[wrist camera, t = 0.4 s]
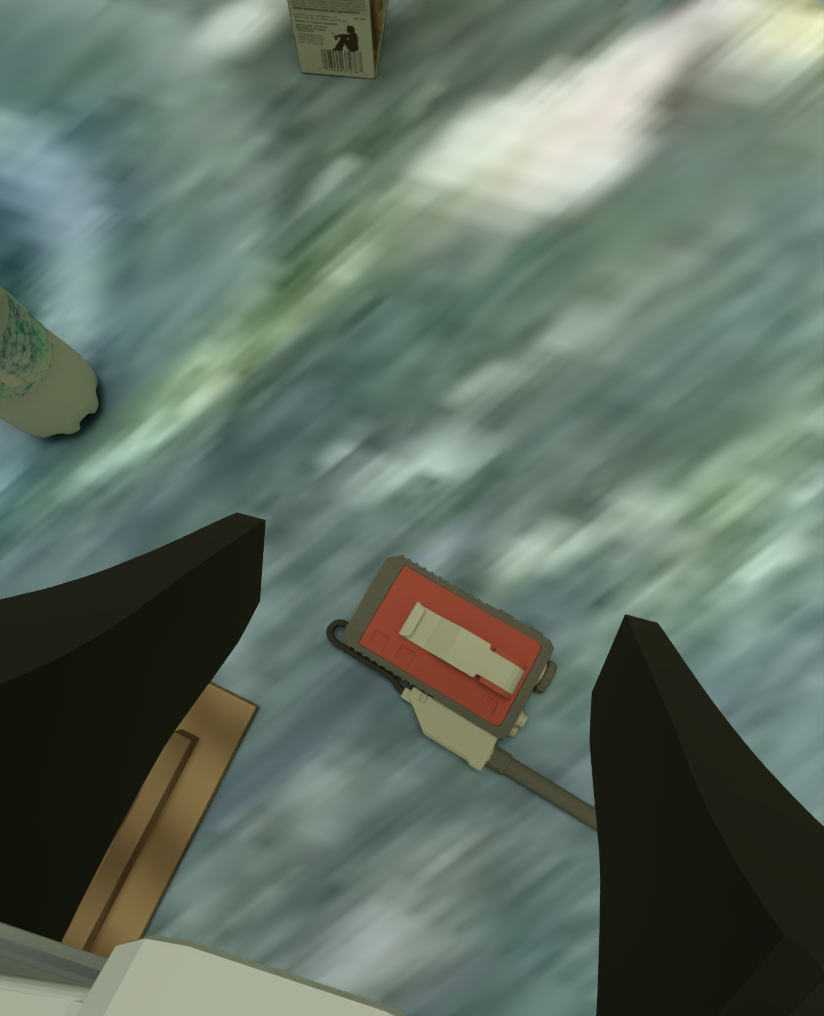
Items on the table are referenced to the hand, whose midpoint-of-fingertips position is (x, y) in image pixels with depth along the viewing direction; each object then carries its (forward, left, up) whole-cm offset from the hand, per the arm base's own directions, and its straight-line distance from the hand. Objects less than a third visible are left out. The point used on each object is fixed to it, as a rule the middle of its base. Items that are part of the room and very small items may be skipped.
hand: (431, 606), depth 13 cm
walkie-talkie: (0, -4, -30) cm, 30 cm away
